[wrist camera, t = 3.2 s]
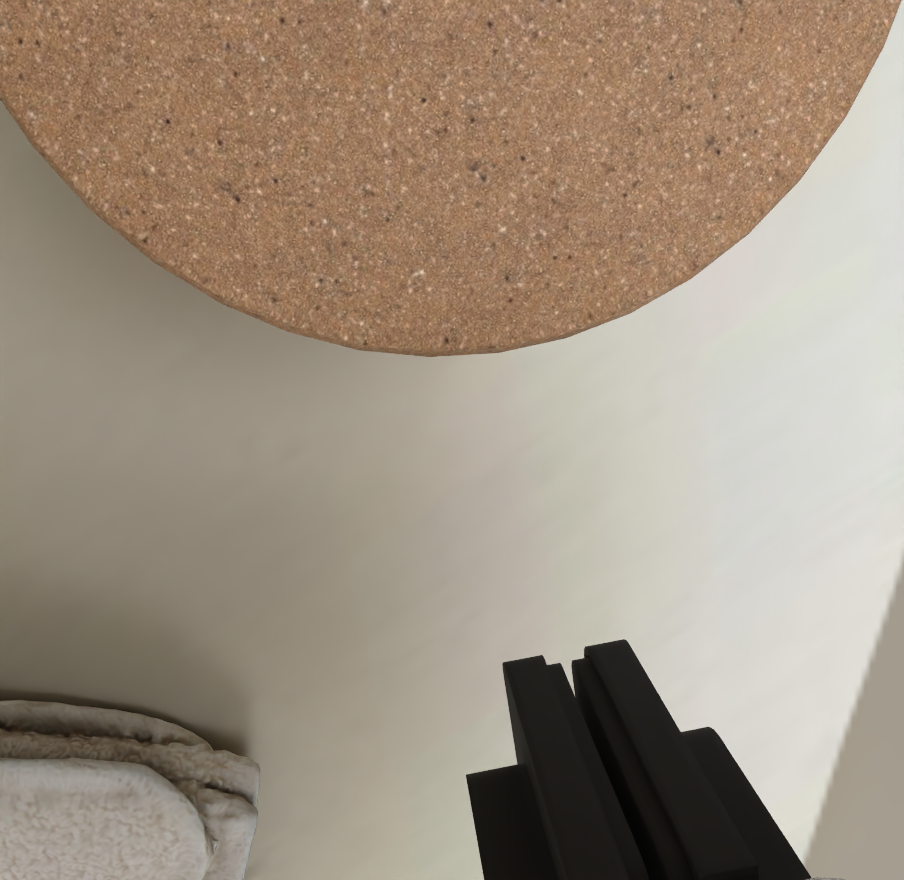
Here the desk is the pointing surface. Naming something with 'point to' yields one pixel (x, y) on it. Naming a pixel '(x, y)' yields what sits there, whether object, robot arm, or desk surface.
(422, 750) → the desk surface
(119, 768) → the washcloth
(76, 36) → the trinket box
